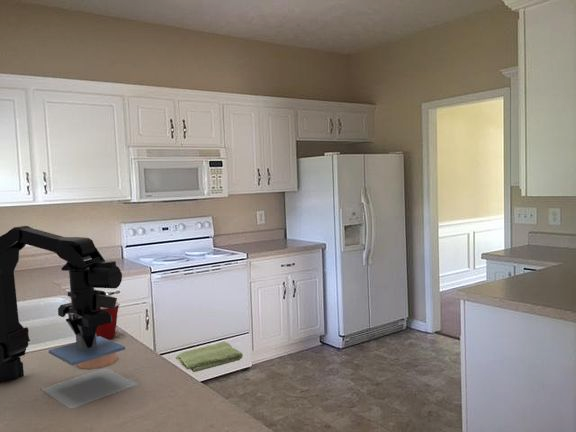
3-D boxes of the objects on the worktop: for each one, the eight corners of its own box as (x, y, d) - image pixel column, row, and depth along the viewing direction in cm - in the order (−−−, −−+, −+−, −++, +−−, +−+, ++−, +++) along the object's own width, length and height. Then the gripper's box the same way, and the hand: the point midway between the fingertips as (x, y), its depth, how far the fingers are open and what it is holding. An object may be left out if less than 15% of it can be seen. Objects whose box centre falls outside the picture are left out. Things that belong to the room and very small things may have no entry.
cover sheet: (72, 365, 124) (70, 346, 123) (48, 353, 133) (47, 335, 133) (125, 349, 134) (124, 331, 133) (99, 338, 143) (98, 322, 143)
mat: (70, 412, 122) (70, 408, 122) (40, 392, 134) (40, 388, 134) (138, 387, 135) (138, 384, 135) (105, 371, 147) (105, 367, 147)
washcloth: (173, 361, 154) (173, 351, 154) (227, 349, 163) (227, 339, 163) (188, 375, 143) (187, 364, 143) (245, 361, 152) (245, 351, 151)
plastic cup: (118, 330, 185) (116, 298, 184) (125, 338, 176) (123, 304, 175) (86, 336, 180) (84, 303, 179) (92, 345, 170) (89, 309, 169)
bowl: (88, 374, 145) (86, 357, 144) (71, 365, 152) (69, 349, 152) (123, 363, 153) (122, 346, 152) (105, 355, 160) (104, 339, 160)
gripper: (129, 285, 131) (133, 345, 133) (95, 277, 144) (99, 331, 146) (87, 294, 123) (91, 357, 125) (55, 284, 136) (59, 341, 138)
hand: (86, 346), depth 133 cm, fingers closed on cover sheet, 3 cm apart
